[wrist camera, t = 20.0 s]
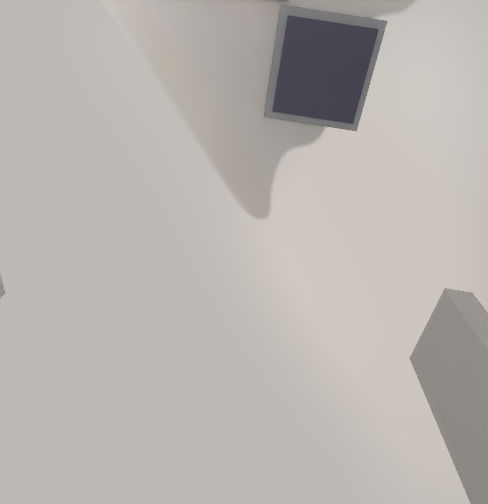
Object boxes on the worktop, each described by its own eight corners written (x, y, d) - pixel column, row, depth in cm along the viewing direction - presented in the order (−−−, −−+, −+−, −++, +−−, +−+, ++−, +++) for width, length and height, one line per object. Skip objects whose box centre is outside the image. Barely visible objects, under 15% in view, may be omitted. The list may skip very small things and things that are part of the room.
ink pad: (385, 21, 31) (390, 20, 29) (355, 129, 35) (358, 132, 34) (280, 5, 31) (281, 3, 30) (264, 115, 35) (263, 118, 34)
